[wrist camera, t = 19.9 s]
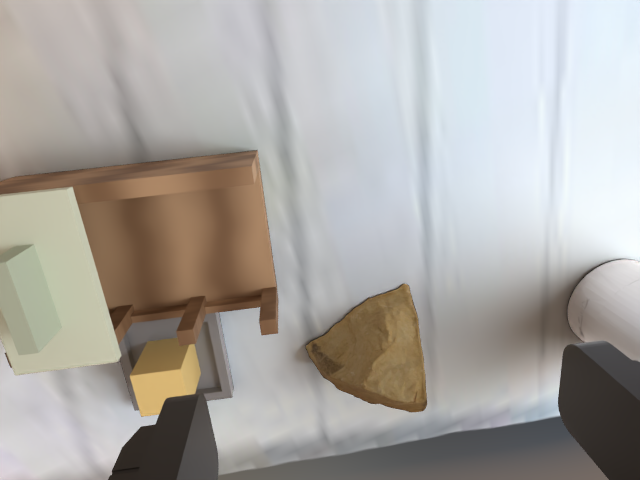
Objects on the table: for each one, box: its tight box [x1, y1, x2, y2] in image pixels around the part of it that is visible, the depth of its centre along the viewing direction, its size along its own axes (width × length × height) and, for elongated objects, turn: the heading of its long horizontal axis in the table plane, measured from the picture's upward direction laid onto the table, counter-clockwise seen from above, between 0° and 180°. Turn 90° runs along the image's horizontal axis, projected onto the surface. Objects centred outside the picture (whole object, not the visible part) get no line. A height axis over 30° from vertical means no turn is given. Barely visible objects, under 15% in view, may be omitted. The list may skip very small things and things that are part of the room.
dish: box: [119, 312, 234, 410], centre depth 40 cm, size 9×9×1 cm
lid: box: [0, 187, 121, 375], centre depth 28 cm, size 7×12×4 cm, turn 6°
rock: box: [306, 284, 427, 412], centre depth 38 cm, size 11×9×10 cm
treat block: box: [130, 338, 201, 417], centre depth 38 cm, size 4×4×5 cm
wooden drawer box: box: [0, 150, 278, 368], centre depth 33 cm, size 19×12×8 cm, turn 96°
